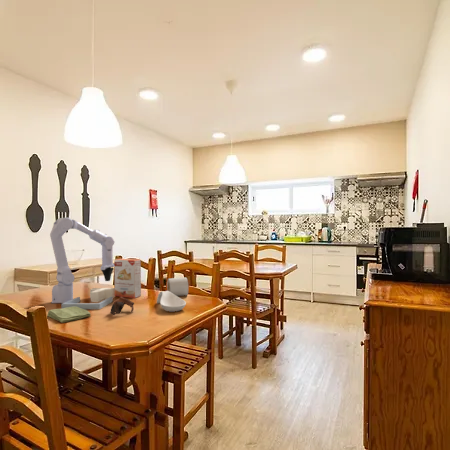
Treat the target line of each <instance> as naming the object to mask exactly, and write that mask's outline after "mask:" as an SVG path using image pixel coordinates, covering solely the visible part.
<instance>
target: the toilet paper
mask: <svg viewBox="0 0 450 450" xmlns="http://www.w3.org/2000/svg"><path fill="white" fill-rule="evenodd" d="M166 285H167V286H166V288H167V290H166V291H169V292H171V293H173V294H174V295H176V296H178V297H182V296H183V297H184V295H185V296H188V294H189V280H188V278H187V277H173V278H168V279H167V283H166Z"/></svg>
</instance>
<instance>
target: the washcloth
mask: <svg viewBox="0 0 450 450" xmlns="http://www.w3.org/2000/svg"><path fill="white" fill-rule="evenodd" d="M46 316H47V317H48V318H50V319H52V320H55V321H58V322H60V323H61V324H64V323H69V322H73V321H77V320H80V319H85V318H90V317H92V316H91V312H90V311H89V310H88V309H81V308H79V307H76V306H75V307H67V308H62V307H61V308H53V309H49V310H48V311H47V315H46Z"/></svg>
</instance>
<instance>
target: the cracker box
mask: <svg viewBox="0 0 450 450" xmlns="http://www.w3.org/2000/svg"><path fill="white" fill-rule="evenodd" d="M113 261H114V263H113V264H114V265H115V266H114V288H115V297H119V298H120V297H123V298H131V299H136V298H139V297H141V296H142V277H141V275H142V274H141V273H142V271H141V268H142V267H141V266H142V265H141V264H142V263H141V259H140V258H139V259H137V258H116V259H114V260H113Z"/></svg>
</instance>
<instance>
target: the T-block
mask: <svg viewBox="0 0 450 450" xmlns="http://www.w3.org/2000/svg"><path fill="white" fill-rule="evenodd" d="M89 293H90V295H89V297H90V303H100V302H102V301H104V300H105V299H107V298H109V297H113V299H114V298H115V297H116V296H115V287H95V288H94V287H93V288H91V289H90V291H89Z"/></svg>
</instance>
